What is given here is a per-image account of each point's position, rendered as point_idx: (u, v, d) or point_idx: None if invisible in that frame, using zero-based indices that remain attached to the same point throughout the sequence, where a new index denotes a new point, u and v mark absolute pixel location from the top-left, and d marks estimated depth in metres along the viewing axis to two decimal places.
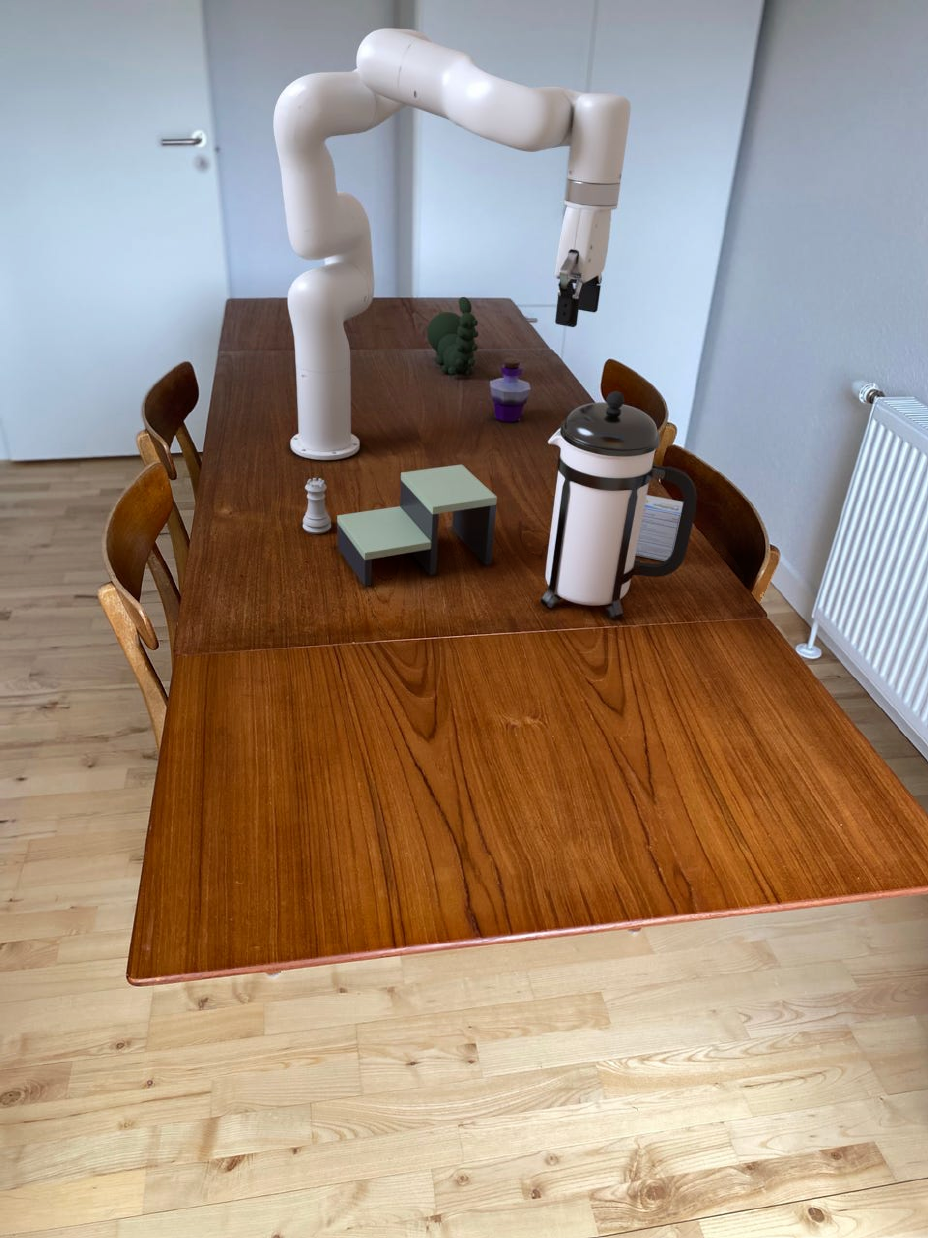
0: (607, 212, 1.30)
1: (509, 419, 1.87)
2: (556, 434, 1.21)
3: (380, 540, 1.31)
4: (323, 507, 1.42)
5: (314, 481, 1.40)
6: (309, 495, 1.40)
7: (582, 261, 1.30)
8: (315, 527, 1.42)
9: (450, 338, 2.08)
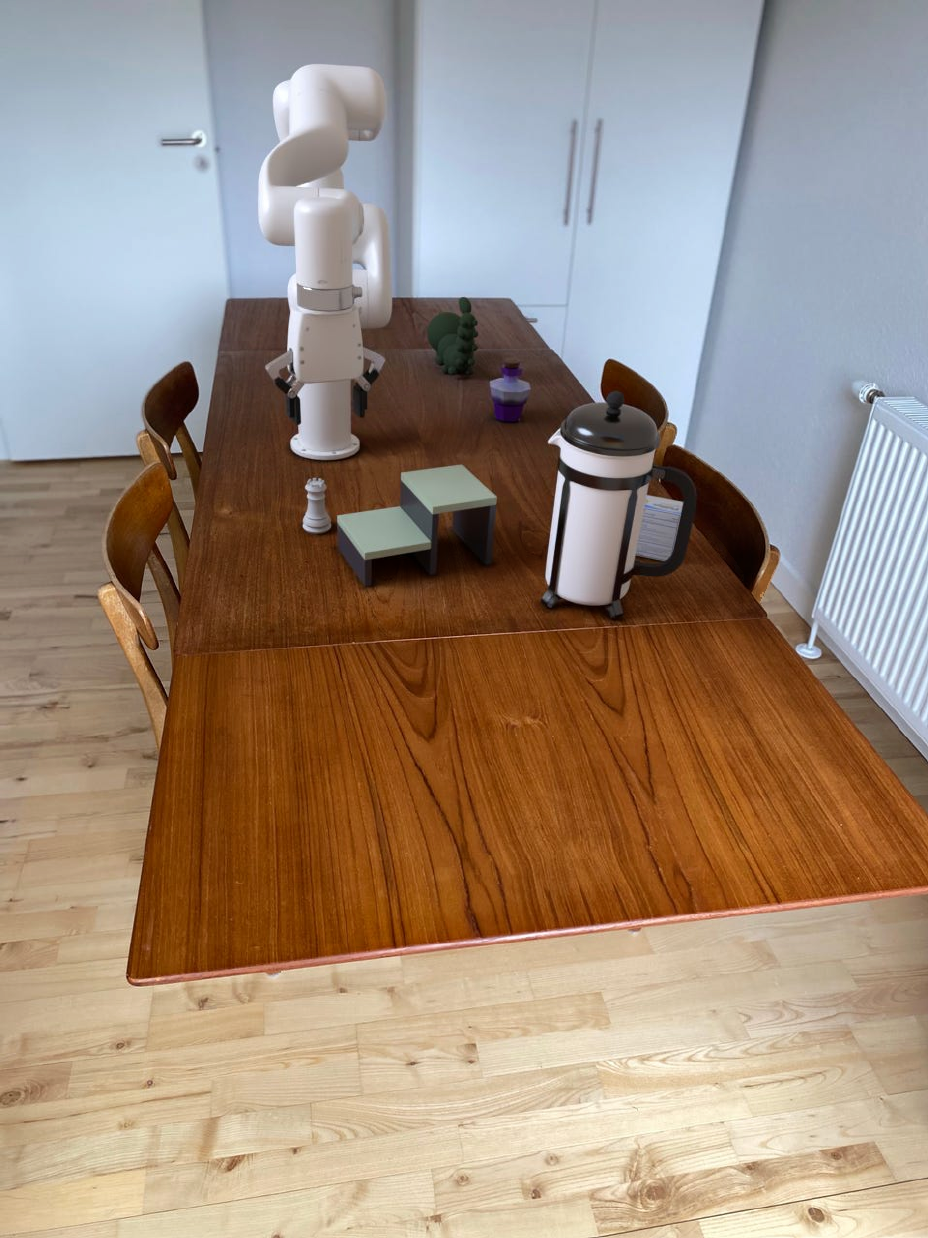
0: (332, 317, 1.25)
1: (509, 419, 1.87)
2: (556, 434, 1.21)
3: (380, 540, 1.31)
4: (323, 507, 1.42)
5: (314, 481, 1.40)
6: (309, 495, 1.40)
7: (294, 361, 1.27)
8: (315, 527, 1.42)
9: (450, 338, 2.08)
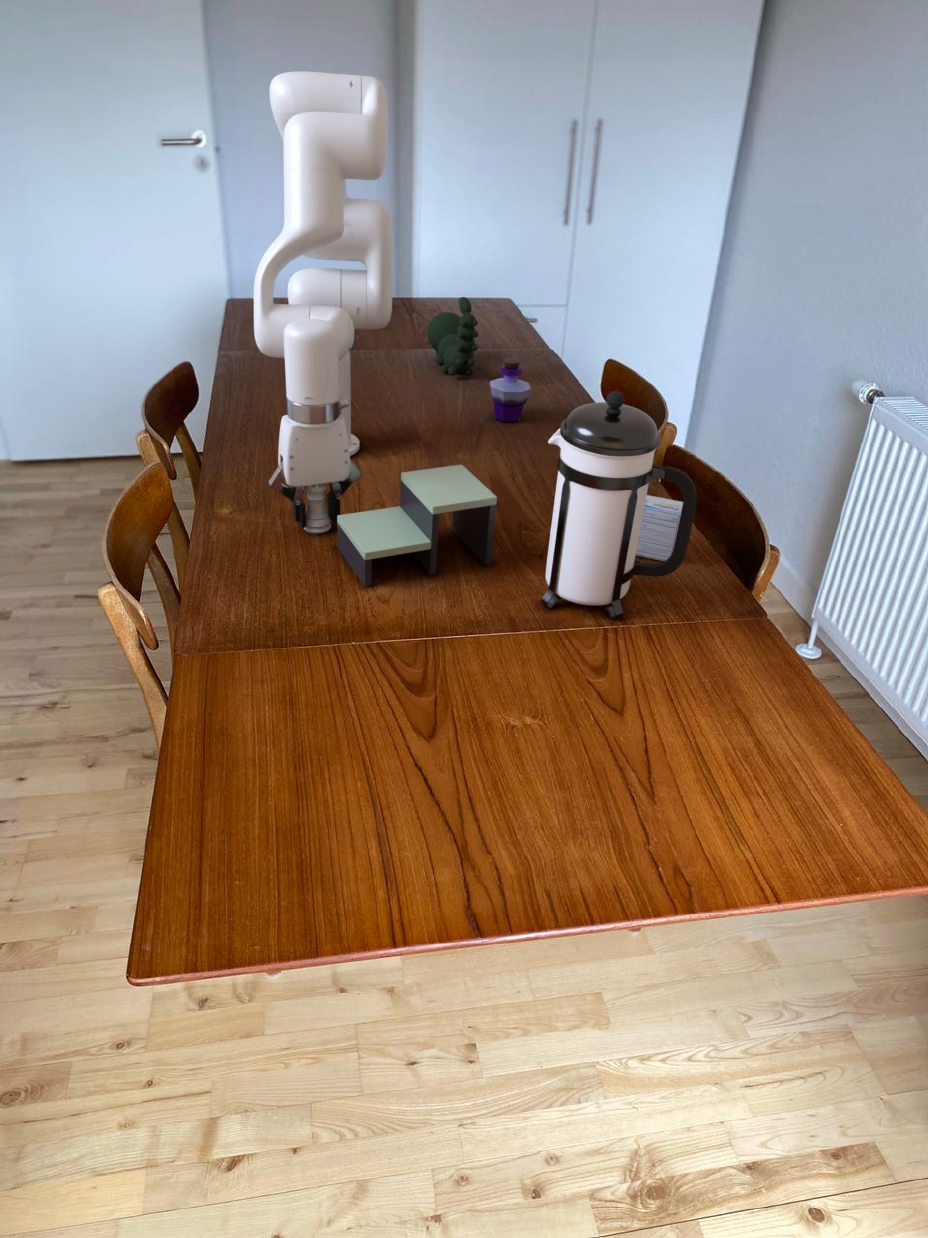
0: (320, 428, 1.33)
1: (509, 419, 1.87)
2: (556, 434, 1.21)
3: (380, 540, 1.31)
4: (323, 507, 1.42)
5: None
6: (309, 495, 1.40)
7: (284, 468, 1.35)
8: (315, 527, 1.42)
9: (450, 338, 2.08)
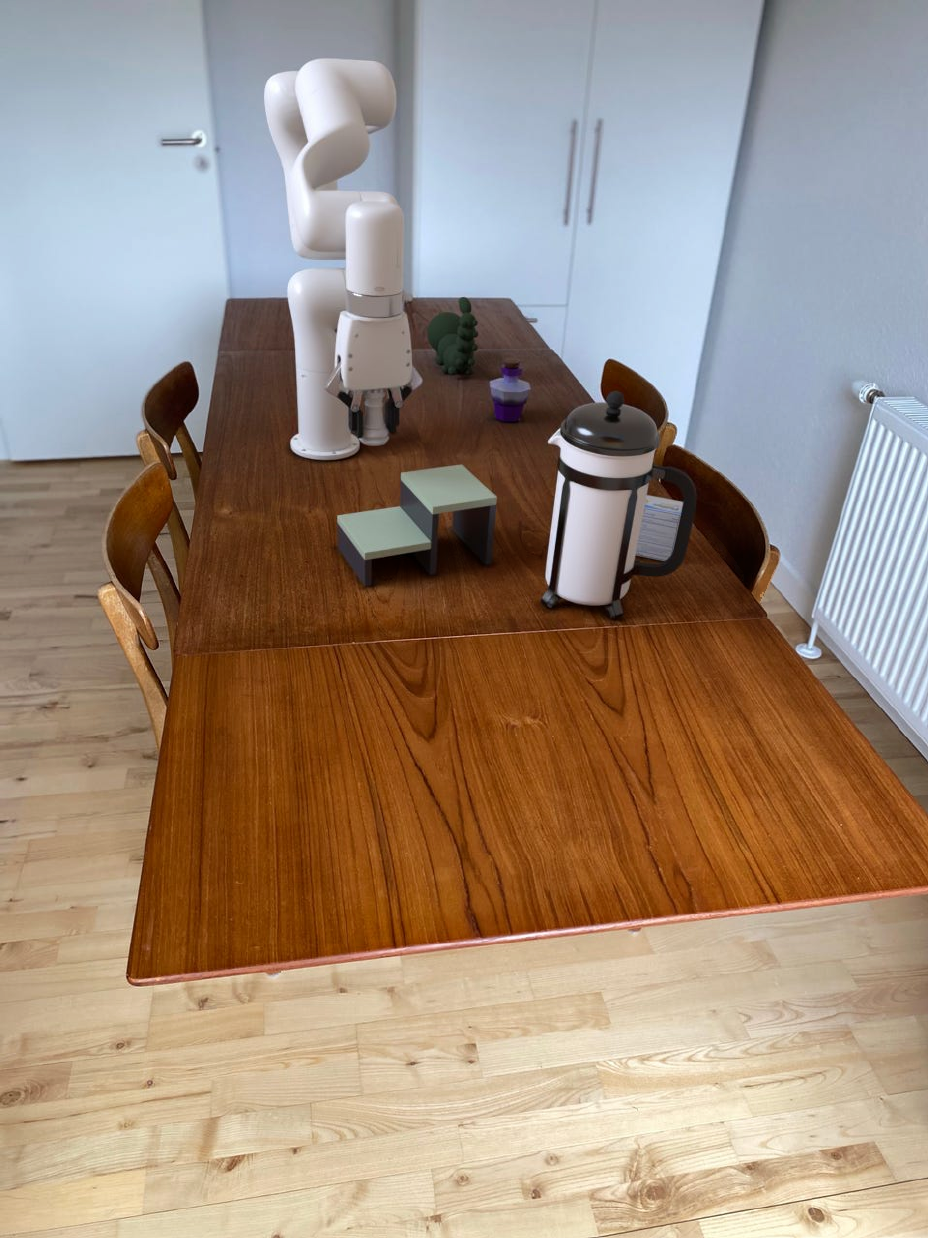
0: (382, 324, 1.23)
1: (509, 419, 1.87)
2: (556, 434, 1.21)
3: (380, 540, 1.31)
4: (381, 416, 1.31)
5: None
6: (367, 402, 1.30)
7: (342, 368, 1.25)
8: (372, 438, 1.31)
9: (450, 338, 2.08)
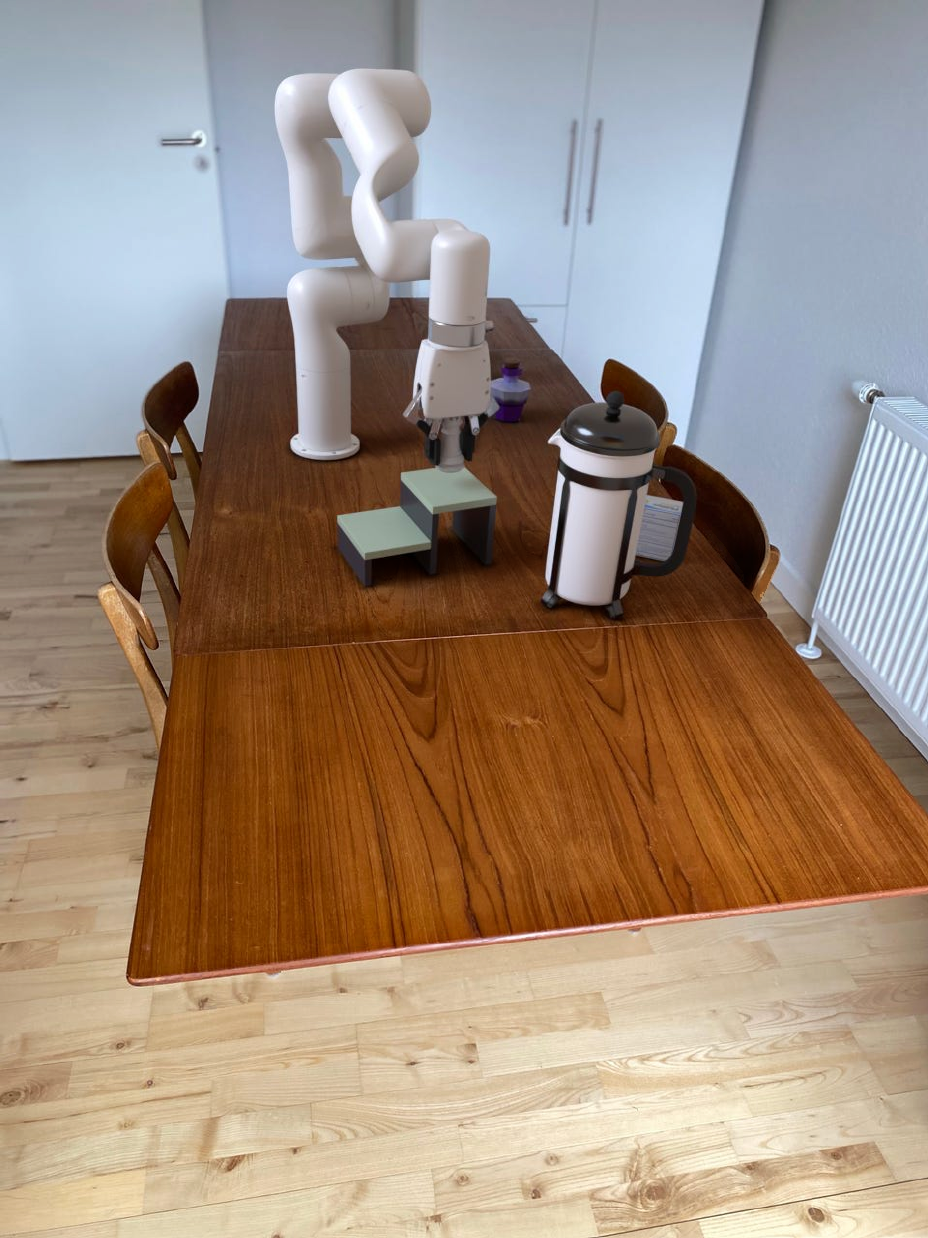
0: (464, 353, 1.22)
1: (509, 419, 1.87)
2: (556, 434, 1.21)
3: (380, 540, 1.31)
4: (458, 443, 1.31)
5: None
6: (445, 429, 1.29)
7: (423, 397, 1.24)
8: (449, 465, 1.31)
9: None
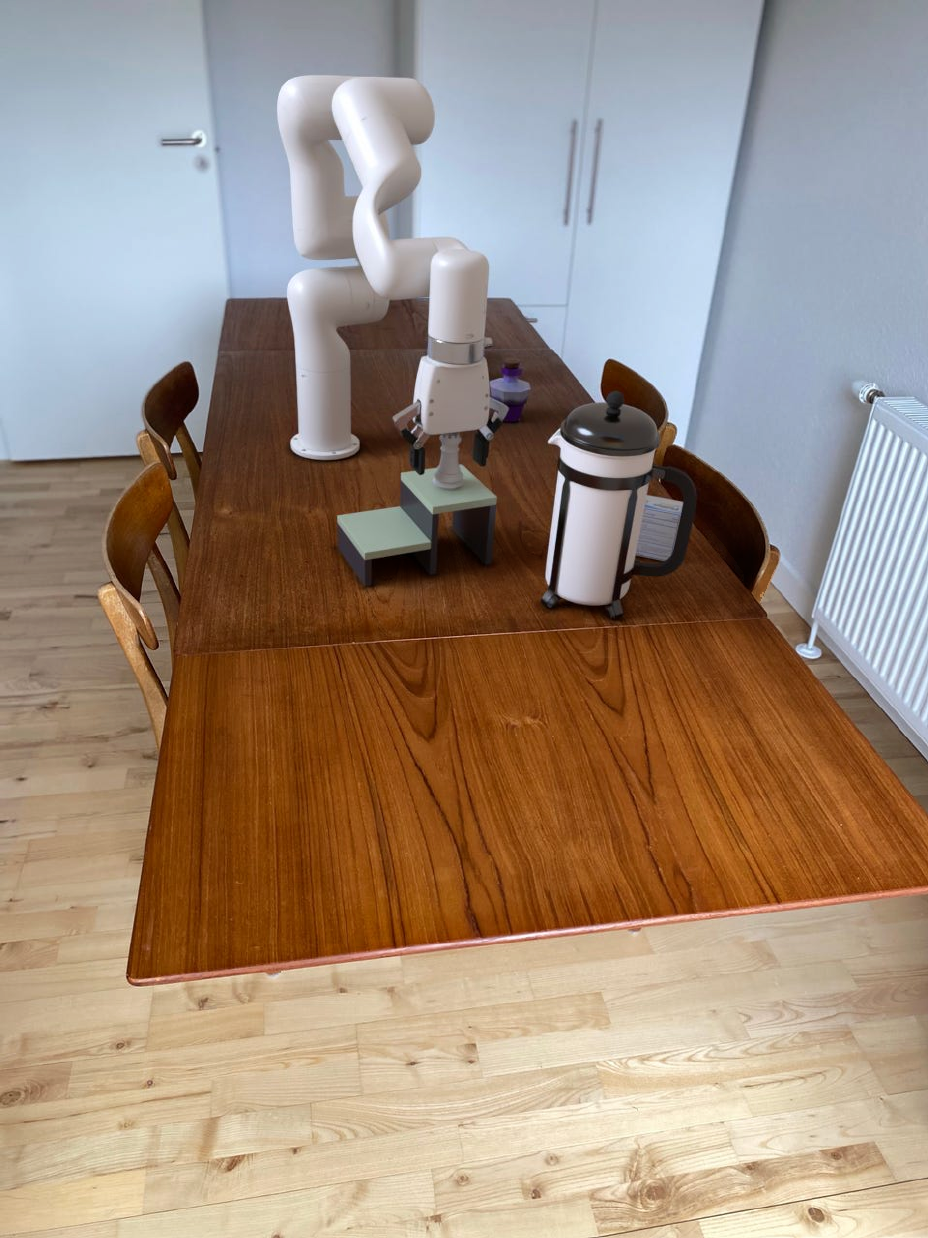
0: (464, 370, 1.23)
1: (509, 419, 1.87)
2: (556, 434, 1.21)
3: (380, 540, 1.31)
4: (457, 461, 1.32)
5: None
6: (444, 447, 1.31)
7: (423, 413, 1.25)
8: (448, 482, 1.32)
9: None
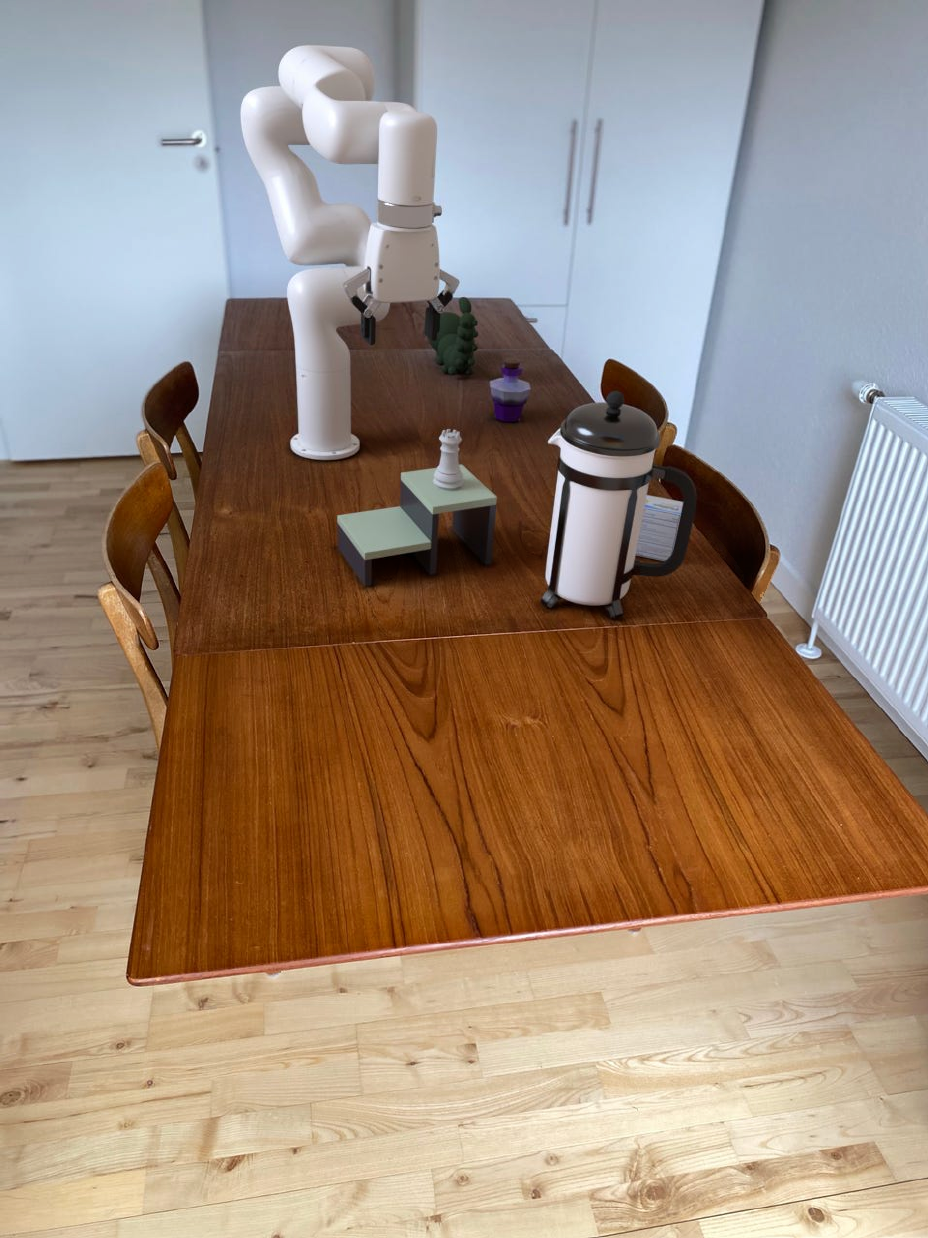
0: (413, 235, 1.25)
1: (509, 419, 1.87)
2: (556, 434, 1.21)
3: (380, 540, 1.31)
4: (457, 461, 1.32)
5: (448, 432, 1.31)
6: (444, 447, 1.31)
7: (372, 279, 1.27)
8: (448, 482, 1.32)
9: (450, 338, 2.08)
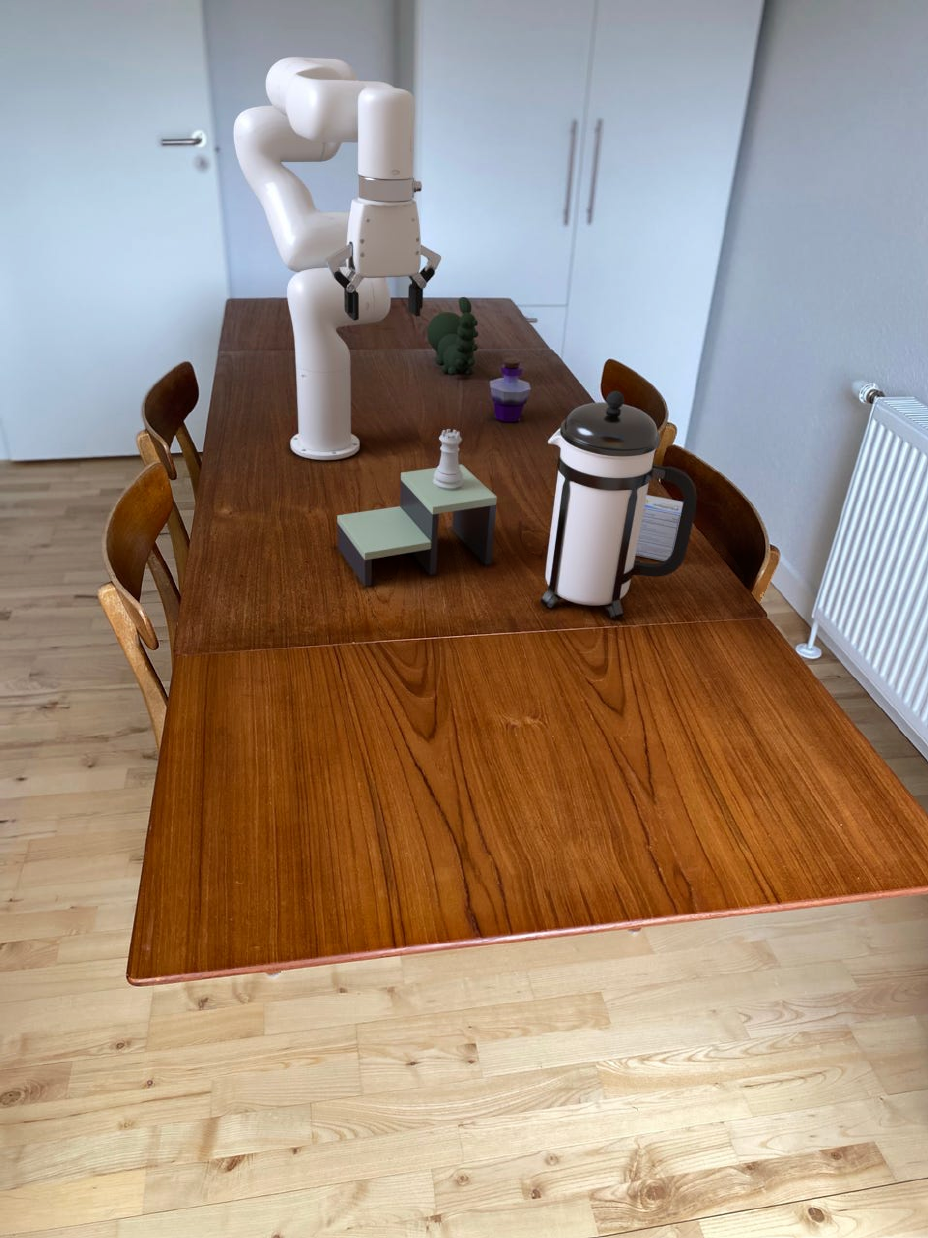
0: (393, 210, 1.27)
1: (509, 419, 1.87)
2: (556, 434, 1.21)
3: (380, 540, 1.31)
4: (457, 461, 1.32)
5: (448, 432, 1.31)
6: (444, 447, 1.31)
7: (354, 254, 1.29)
8: (448, 482, 1.32)
9: (450, 338, 2.08)
